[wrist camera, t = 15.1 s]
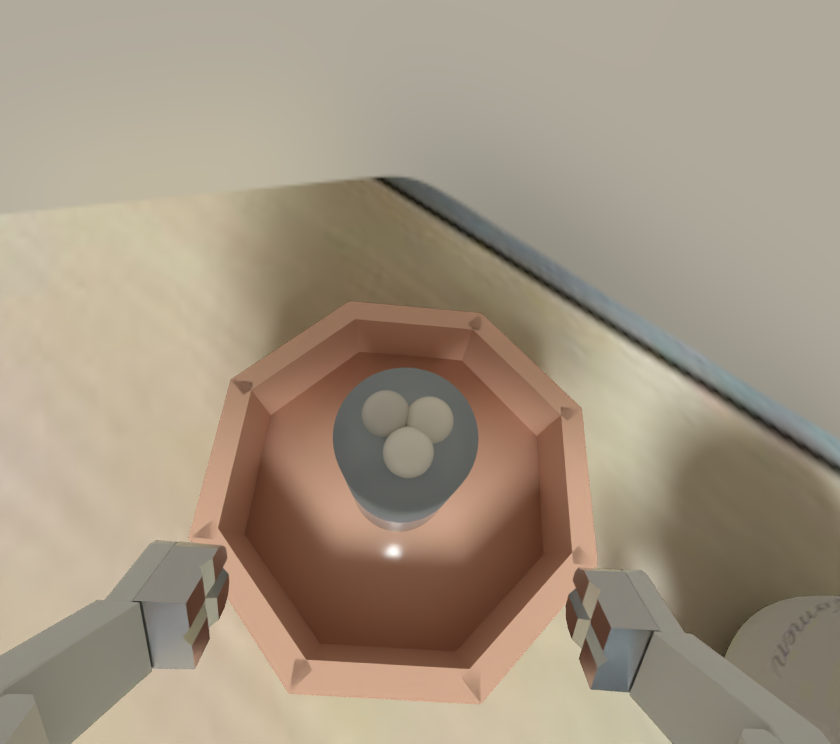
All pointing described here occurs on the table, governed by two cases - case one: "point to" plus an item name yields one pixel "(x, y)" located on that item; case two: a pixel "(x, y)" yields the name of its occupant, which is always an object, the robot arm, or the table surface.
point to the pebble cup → (404, 445)
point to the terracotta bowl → (387, 550)
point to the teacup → (796, 657)
